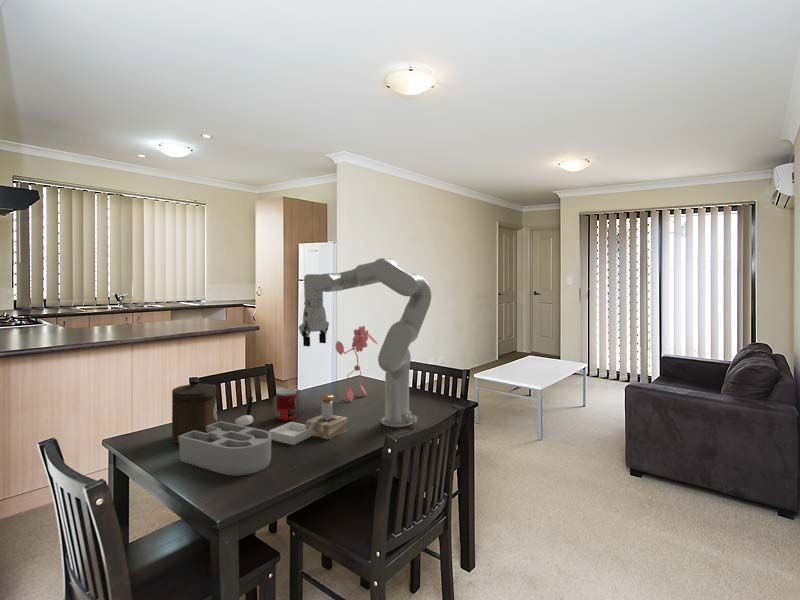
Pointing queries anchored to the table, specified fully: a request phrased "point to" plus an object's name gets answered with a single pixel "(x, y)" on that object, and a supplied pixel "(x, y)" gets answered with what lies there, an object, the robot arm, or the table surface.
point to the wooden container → (193, 408)
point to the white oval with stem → (246, 416)
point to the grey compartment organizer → (227, 448)
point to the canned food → (286, 405)
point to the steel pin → (326, 407)
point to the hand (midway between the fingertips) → (314, 344)
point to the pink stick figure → (359, 342)
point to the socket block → (328, 426)
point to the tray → (291, 433)
